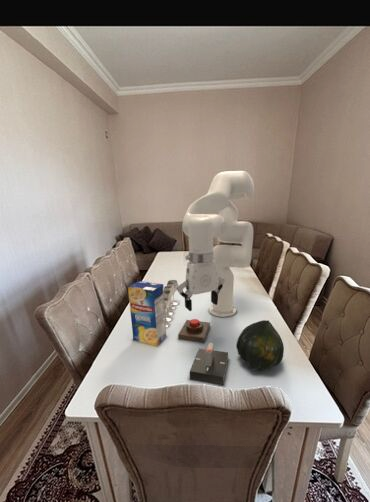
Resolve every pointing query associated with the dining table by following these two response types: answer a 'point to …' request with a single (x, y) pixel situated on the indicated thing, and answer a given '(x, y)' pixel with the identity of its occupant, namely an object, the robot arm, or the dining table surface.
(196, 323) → the power button
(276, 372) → the dining table surface
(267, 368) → the squash
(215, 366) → the control panel
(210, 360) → the brew dial
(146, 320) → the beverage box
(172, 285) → the goblet set
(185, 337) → the switch block
